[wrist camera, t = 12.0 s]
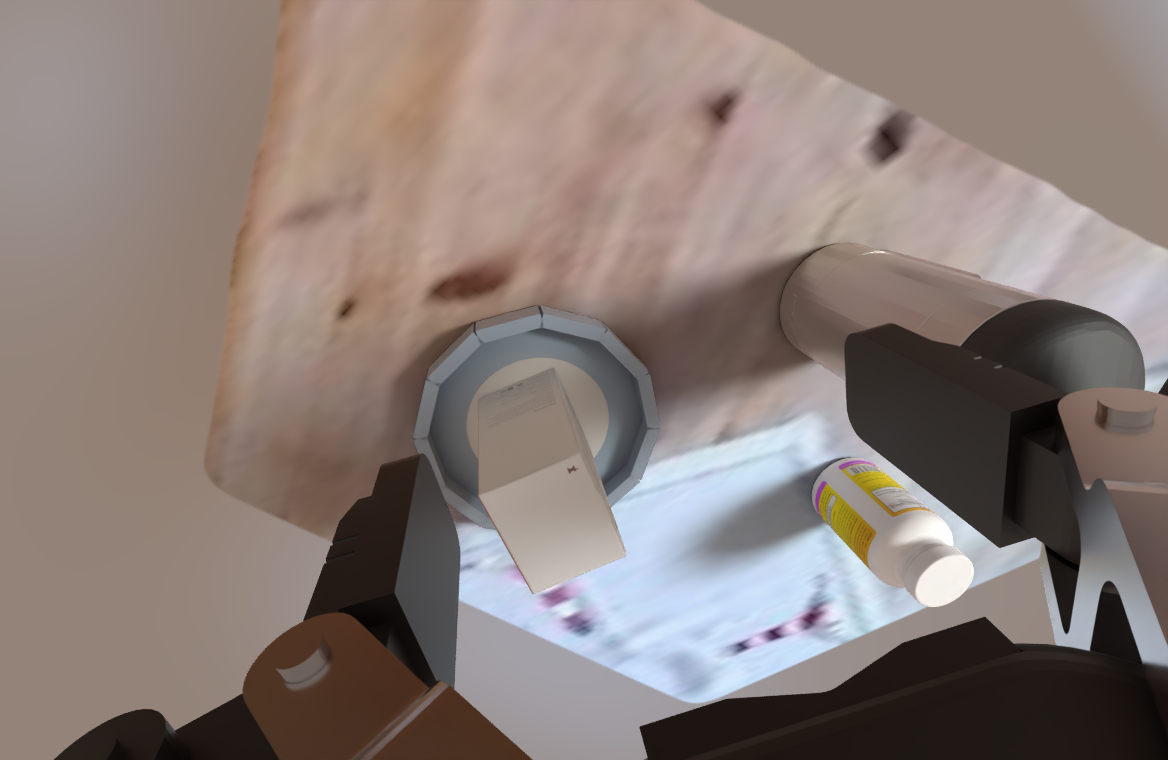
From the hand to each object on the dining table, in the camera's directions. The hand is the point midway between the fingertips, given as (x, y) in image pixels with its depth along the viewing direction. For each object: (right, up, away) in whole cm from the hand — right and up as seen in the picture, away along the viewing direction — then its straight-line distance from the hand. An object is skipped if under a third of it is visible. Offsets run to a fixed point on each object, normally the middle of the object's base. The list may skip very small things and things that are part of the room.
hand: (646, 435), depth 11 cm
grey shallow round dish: (-5, -2, +35) cm, 36 cm away
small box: (-5, -2, +34) cm, 35 cm away
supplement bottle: (+23, -9, +43) cm, 49 cm away
